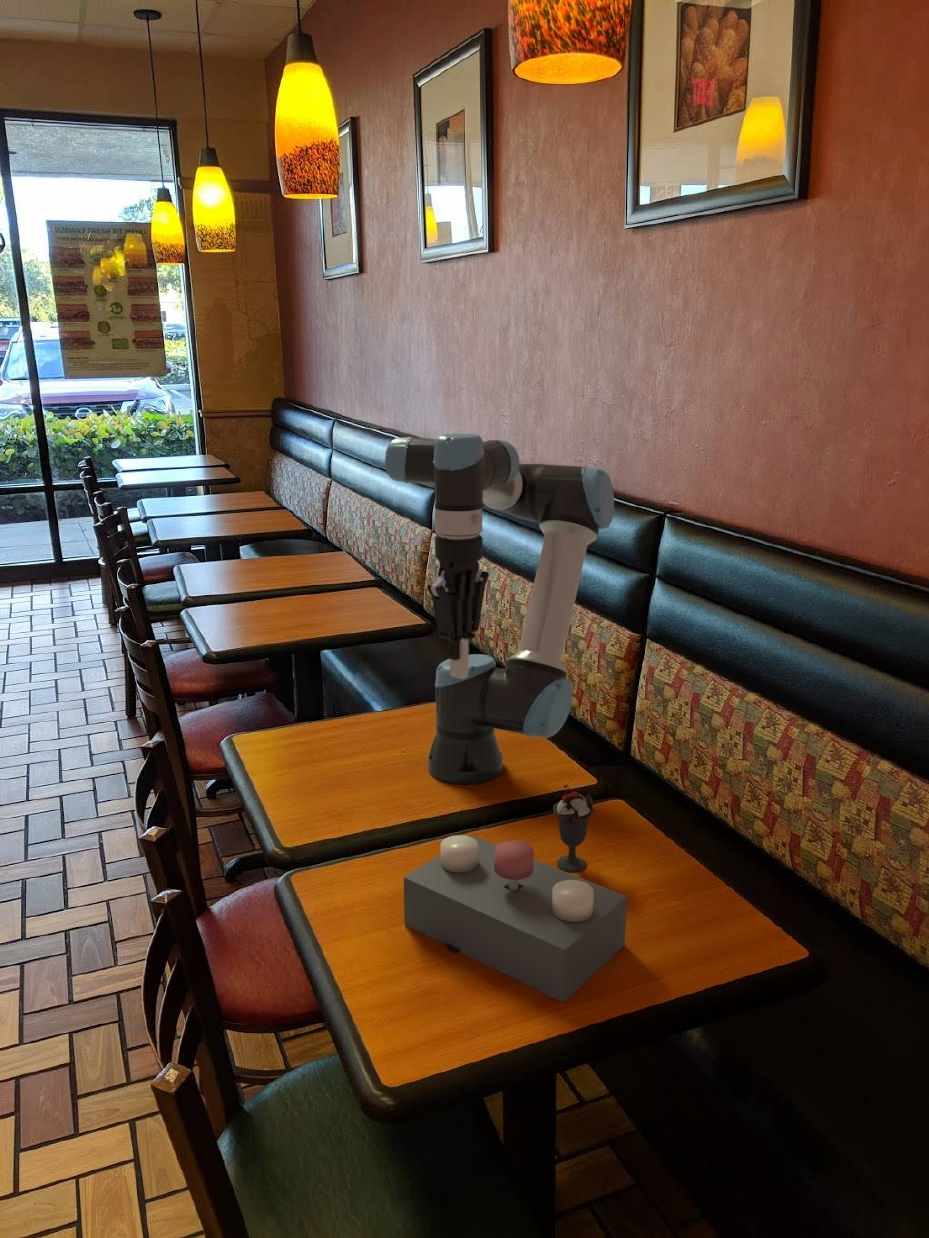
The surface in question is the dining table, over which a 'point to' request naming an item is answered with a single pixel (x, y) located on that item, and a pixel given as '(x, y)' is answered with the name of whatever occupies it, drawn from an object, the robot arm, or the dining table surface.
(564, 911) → the cream knob
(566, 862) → the sundae
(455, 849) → the cream knob
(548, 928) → the control box
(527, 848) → the pink knob
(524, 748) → the dining table surface
